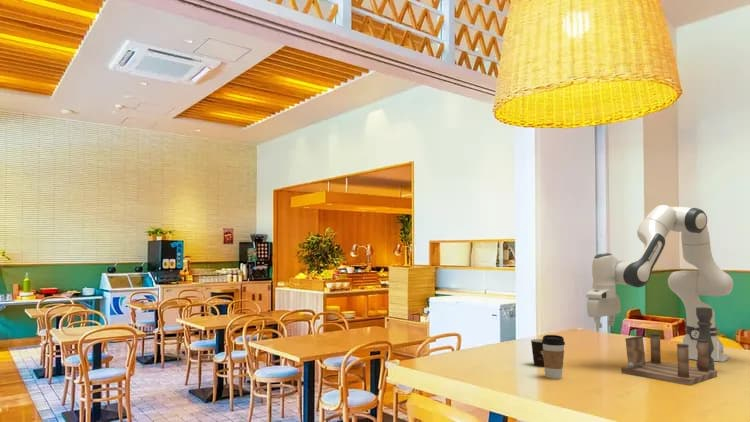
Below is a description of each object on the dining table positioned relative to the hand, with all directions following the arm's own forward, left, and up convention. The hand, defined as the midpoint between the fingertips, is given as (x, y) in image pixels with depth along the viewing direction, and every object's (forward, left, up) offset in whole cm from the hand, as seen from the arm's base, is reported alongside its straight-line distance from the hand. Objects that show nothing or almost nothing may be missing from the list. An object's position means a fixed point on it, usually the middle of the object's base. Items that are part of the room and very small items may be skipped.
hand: (604, 326), depth 232 cm
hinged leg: (+1, +13, -13) cm, 18 cm away
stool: (-6, +22, -16) cm, 28 cm away
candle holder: (-25, +28, -16) cm, 41 cm away
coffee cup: (+35, -2, -16) cm, 38 cm away
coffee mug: (+19, -16, -16) cm, 29 cm away
